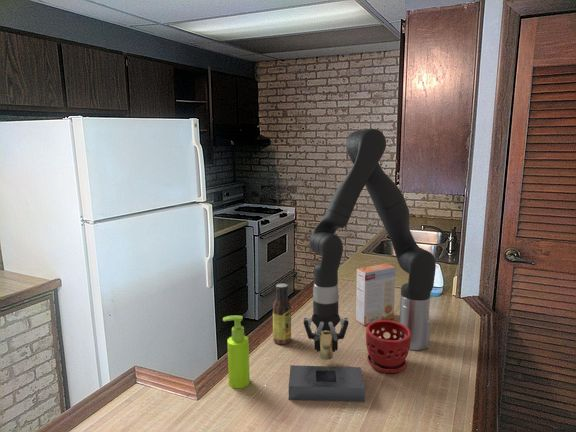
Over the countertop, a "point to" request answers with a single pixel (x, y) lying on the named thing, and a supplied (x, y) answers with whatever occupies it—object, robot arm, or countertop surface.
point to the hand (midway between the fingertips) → (325, 350)
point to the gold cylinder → (326, 345)
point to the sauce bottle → (281, 316)
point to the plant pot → (387, 346)
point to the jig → (326, 383)
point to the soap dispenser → (238, 354)
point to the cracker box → (375, 293)
